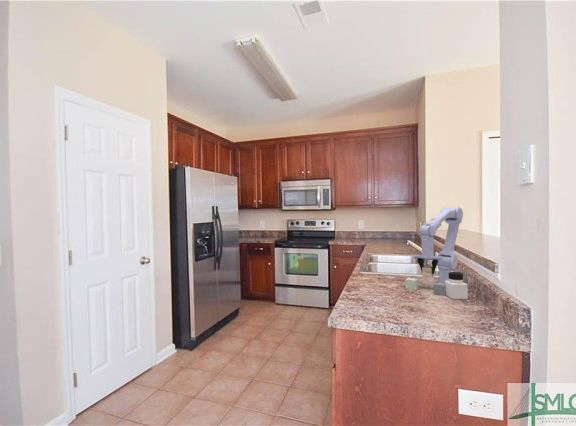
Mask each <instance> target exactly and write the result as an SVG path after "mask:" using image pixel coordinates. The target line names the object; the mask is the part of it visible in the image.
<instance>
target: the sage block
mask: <svg viewBox="0 0 576 426" xmlns="http://www.w3.org/2000/svg"><path fill="white" fill-rule="evenodd" d="M418 288H419V280H418V278H412V277H407V278H405V289H406V290H413V291H416V290H418Z"/></svg>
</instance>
